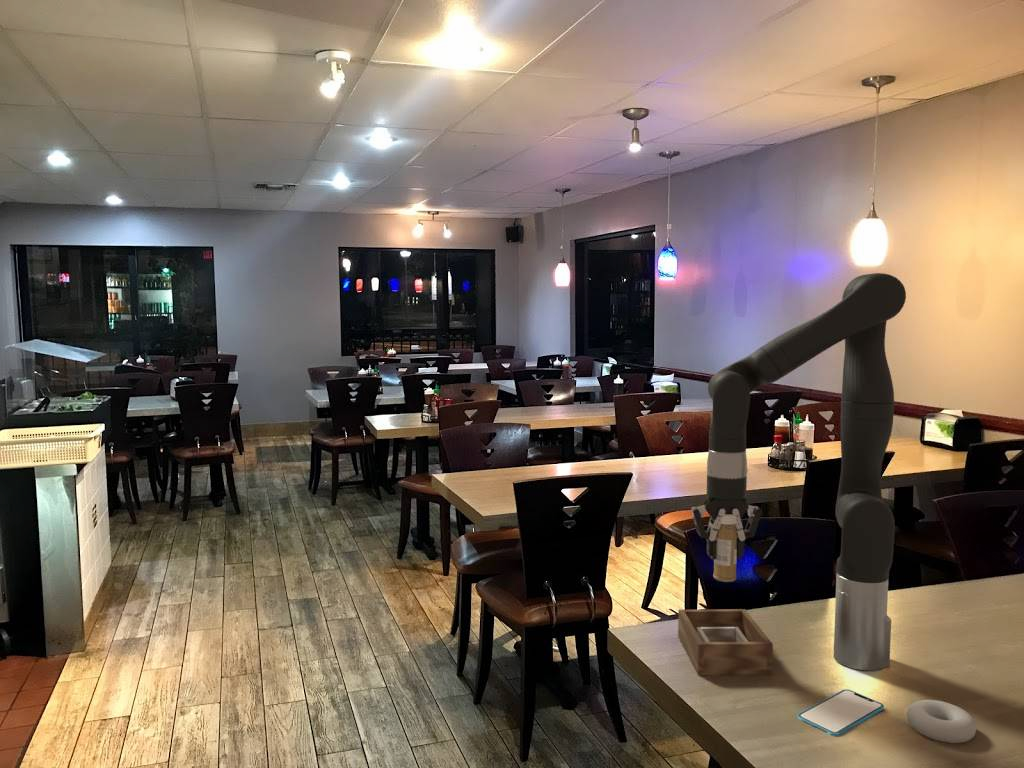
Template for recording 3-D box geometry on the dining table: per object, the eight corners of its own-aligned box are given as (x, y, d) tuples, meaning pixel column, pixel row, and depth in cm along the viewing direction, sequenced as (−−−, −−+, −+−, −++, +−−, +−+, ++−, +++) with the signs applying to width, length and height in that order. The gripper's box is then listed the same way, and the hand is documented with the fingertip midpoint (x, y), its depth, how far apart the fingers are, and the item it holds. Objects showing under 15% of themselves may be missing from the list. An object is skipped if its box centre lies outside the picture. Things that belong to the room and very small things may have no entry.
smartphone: (795, 715, 130) (846, 688, 139) (795, 721, 130) (845, 694, 139) (835, 735, 124) (886, 705, 132) (835, 741, 124) (886, 711, 133)
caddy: (744, 636, 162) (745, 609, 162) (771, 674, 145) (772, 643, 145) (678, 637, 162) (678, 609, 162) (698, 675, 145) (698, 644, 145)
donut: (919, 709, 133) (896, 729, 126) (920, 690, 133) (897, 709, 126) (984, 732, 126) (963, 755, 119) (985, 711, 126) (965, 733, 119)
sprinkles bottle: (741, 579, 152) (743, 513, 151) (725, 584, 149) (727, 516, 148) (723, 573, 156) (725, 508, 154) (707, 577, 153) (709, 511, 152)
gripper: (757, 468, 154) (755, 551, 156) (685, 469, 154) (684, 552, 156) (769, 476, 147) (767, 564, 148) (695, 477, 147) (693, 564, 148)
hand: (725, 557), depth 152 cm, fingers closed on sprinkles bottle, 4 cm apart
